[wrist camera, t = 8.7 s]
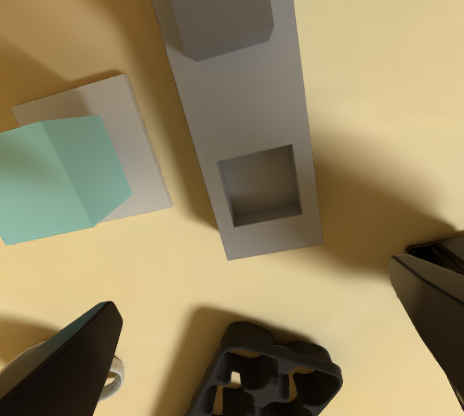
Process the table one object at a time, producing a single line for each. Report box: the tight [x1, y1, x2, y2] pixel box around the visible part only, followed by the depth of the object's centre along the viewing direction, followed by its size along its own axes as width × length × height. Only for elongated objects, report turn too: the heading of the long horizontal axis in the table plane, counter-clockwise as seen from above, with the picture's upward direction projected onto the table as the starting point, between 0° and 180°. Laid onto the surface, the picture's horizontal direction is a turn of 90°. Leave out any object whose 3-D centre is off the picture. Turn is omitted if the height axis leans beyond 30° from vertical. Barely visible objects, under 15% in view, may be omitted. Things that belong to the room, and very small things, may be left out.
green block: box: [0, 115, 133, 246], centre depth 16 cm, size 6×6×7 cm
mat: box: [10, 74, 173, 223], centre depth 20 cm, size 10×9×1 cm
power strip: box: [151, 0, 323, 261], centre depth 15 cm, size 20×7×6 cm, turn 14°
